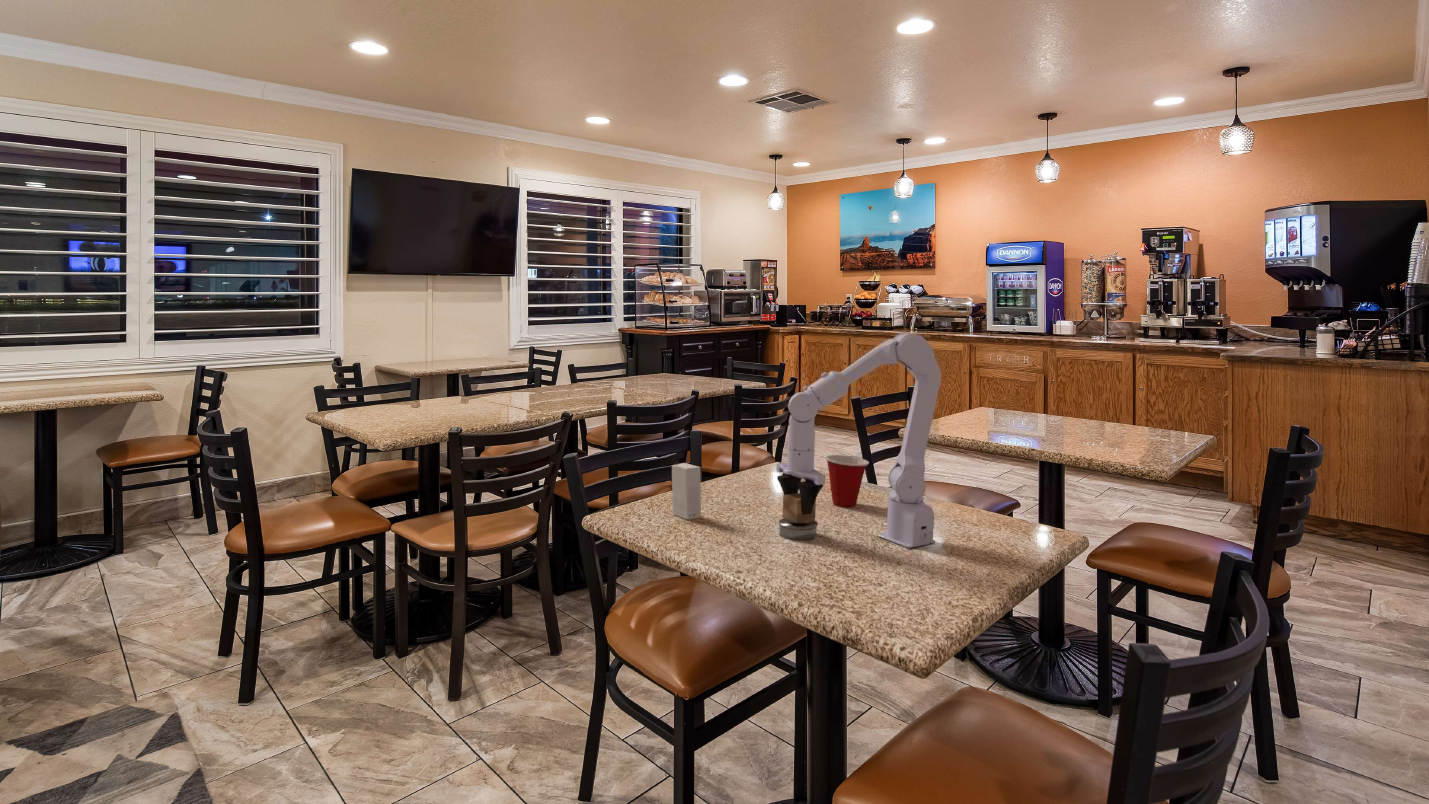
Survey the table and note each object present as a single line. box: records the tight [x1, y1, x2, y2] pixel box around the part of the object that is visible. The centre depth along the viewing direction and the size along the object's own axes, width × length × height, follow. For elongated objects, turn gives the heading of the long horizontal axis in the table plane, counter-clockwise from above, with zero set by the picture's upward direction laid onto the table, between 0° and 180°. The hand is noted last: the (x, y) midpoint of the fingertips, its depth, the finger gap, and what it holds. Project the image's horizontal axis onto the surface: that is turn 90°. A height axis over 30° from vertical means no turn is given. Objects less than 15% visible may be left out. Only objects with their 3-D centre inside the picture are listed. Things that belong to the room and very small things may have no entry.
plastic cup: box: [825, 454, 870, 508], centre depth 187 cm, size 11×11×12 cm
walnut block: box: [782, 492, 817, 523], centre depth 161 cm, size 5×5×5 cm
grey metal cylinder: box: [778, 517, 819, 542], centre depth 162 cm, size 8×8×3 cm
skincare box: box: [671, 462, 702, 521], centre depth 174 cm, size 6×4×12 cm
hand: (798, 510), depth 161 cm, fingers closed on walnut block, 5 cm apart
